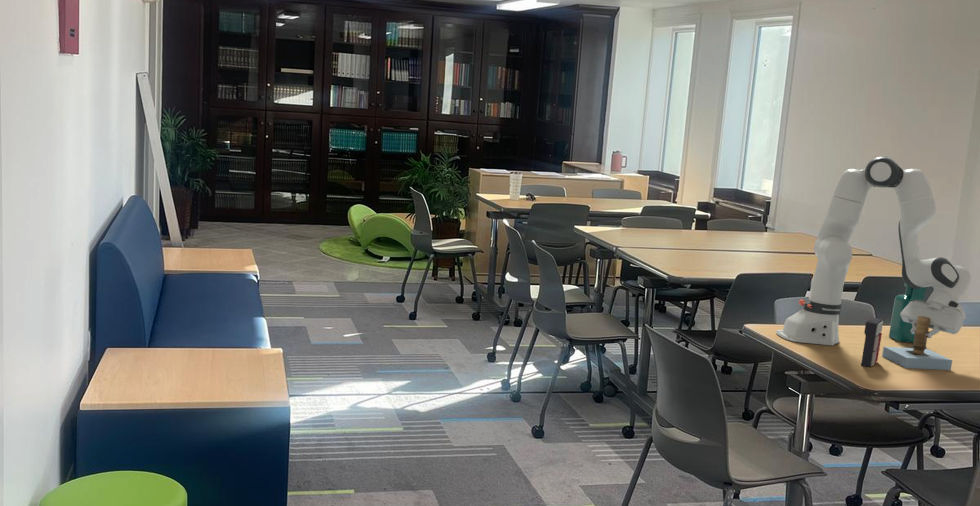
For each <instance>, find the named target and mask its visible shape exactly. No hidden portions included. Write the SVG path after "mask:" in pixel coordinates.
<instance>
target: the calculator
mask: <svg viewBox="0 0 980 506" xmlns="http://www.w3.org/2000/svg"><path fill="white" fill-rule="evenodd" d="M883 325H884V321H883V318H876V317H872V316H871V317H870V318H869V319H868V320H867V321H866V322H865V325H864V326H865V327H864V332H863V333H864V336H865V338H864V344H863V348H862V349H863V351H862V356H861V362H860V365H861V366H862V367H867V368H871V367H873V366H874V365H875V364H877V363H876V362H878V360H879V354H880V349H881V348H880V347H881V340H882V335H883V333H882V331H883Z"/></svg>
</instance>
